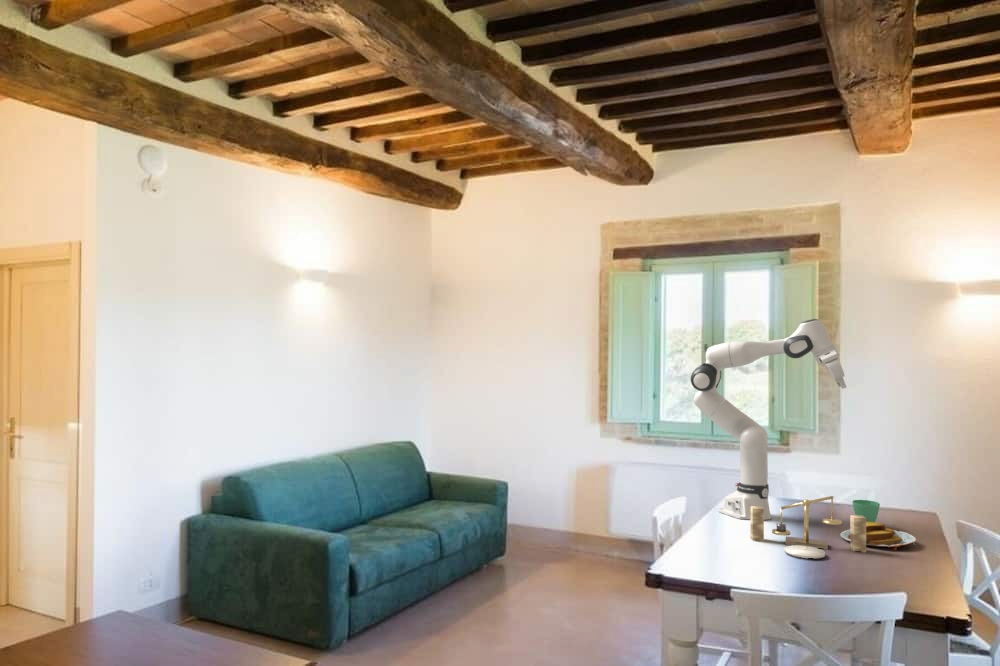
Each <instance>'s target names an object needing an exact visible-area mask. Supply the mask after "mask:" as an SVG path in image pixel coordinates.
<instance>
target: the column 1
mask: <svg viewBox="0 0 1000 666" xmlns="http://www.w3.org/2000/svg"><path fill="white" fill-rule="evenodd" d="M764 526H765V520H764V509H763V508H762V507H759V506H751V519H750V539H751V541H752V540H755V541H754V542H764V541H765V538H764V537H765V532H764V531H765V527H764Z"/></svg>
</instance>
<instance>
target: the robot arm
mask: <svg viewBox="0 0 1000 666" xmlns="http://www.w3.org/2000/svg"><path fill="white" fill-rule="evenodd" d="M810 352H811V353H812V354H813V355H812V356H813V357H814V359H815V361H816V363H817V364H818V365H819V364H821V366H822V367H825V369H826V372H827V373H828V375H829V377H831V378H832V379H834V381H835V382H836V384H837V387H840V388H841V389H842V390H843V389H846V388H847V385H846V382H845V380H844V377H845V372H844V369H843V366H842V365H841V364H842V363H841V362H840V359H839V358H840V352H839V350H838V349H837V347H836V345H835V343H834V342H833V341H832V340H831V336H830V333H829V331H828V330H827V328H826V326H825V324H824V323H823V322H822V321H821V320H820V319H817V318H811V319H809V320H808V319H807V320H803V321H802V322H800V324H799V326H798V327H797V329H795V330H794V332H793V333H791V334H790V335H788V336H787V337H782V338H780V339H777V338H776V339H772V340H771V339H770V340H766V341H765V340H764V341H753V340H752V341H751V340H750V341H749V340H747V341H745V340H743V341H742V340H735V341H727V342H722V343H718V344H715V345H711V346H710V347H708V348H707V349H706V352H705V362H703V363H701V364H699V365H698V366H696V367H695V369H694V370H693V371H692V372H691V375H690V384H691V385H692V387H693V388H694V389H695V390H696V392H695V394H694V397H693V403H694V405H695V406H696V407H697V408H698V409H699V410H700V411H701V412H702V414H703V415H704V416H706V417H707V418H708V419H709V420H710V421H712V422H713V423H714V424H715V425H717V426H718V427H719V428H720V429H721V430H723V431H724V432H726V433H728V434H729V435H730V436H732V438H735V439H736V440H737V441H738V442H739V459H740V460H739V462H740V463H739V464H740V465H739V466H740V467H739V469H740V471H739V476H740V479H739V480H740V481H739V482H737V483H735V485H734V487H737V488H736V490H735V491H734V492H732V493H730V494H729V495H728V496H726V497H725V499H724V503H723V507H720V508H718V510H717V511H718V513H721V514H725V515H727V516H729V517H733V518H736V519H738V520H739V519H740V520H751V506H759V507H762V508H763V509H764V521H767V520H772V513H771V510H770V504H769V493H770V492H769V486H770V485H769V484H768V469H769V468H768V445H769V444H768V443H769V442H768V440H769V439H768V433H767V431H766V429H765V428H764V427H763V426H762V425H761V424H759V423H758V422H757V421H755V420H753V418H750V416H748V415H747V414H746V413H744V412H743V411H741V410H740V409H739V408H737V407H736V406H735V405H734V404H732V403H731V402H730V401H729V400H727V399H726V398H725V397H724V396H722V395H721V394H720V393H719V392H718V390H717V389H718V386H719V383H720V381H721V379H722V370H724V369H730V368H731V369H732V368H738V367H742V366H747V365H749V364H752V363H754V362H755V361H757V360H759V359H762V358H764V357H768V356H775V355H782V354H785V355H786V356H788V357H789V358H791V359H801V358H803V357H805V356H806V355H808V354H809V353H810Z"/></svg>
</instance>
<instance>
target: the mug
mask: <svg viewBox="0 0 1000 666" xmlns="http://www.w3.org/2000/svg"><path fill="white" fill-rule="evenodd" d="M852 507H853V511H854V515H857V516H863V517H865V518H866V521H868V522H876V521H877V519H878V518H877V517H878V514H879V511H880V507H881V504H880V502H878V501H874V500H869V499H853V500H852Z"/></svg>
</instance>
